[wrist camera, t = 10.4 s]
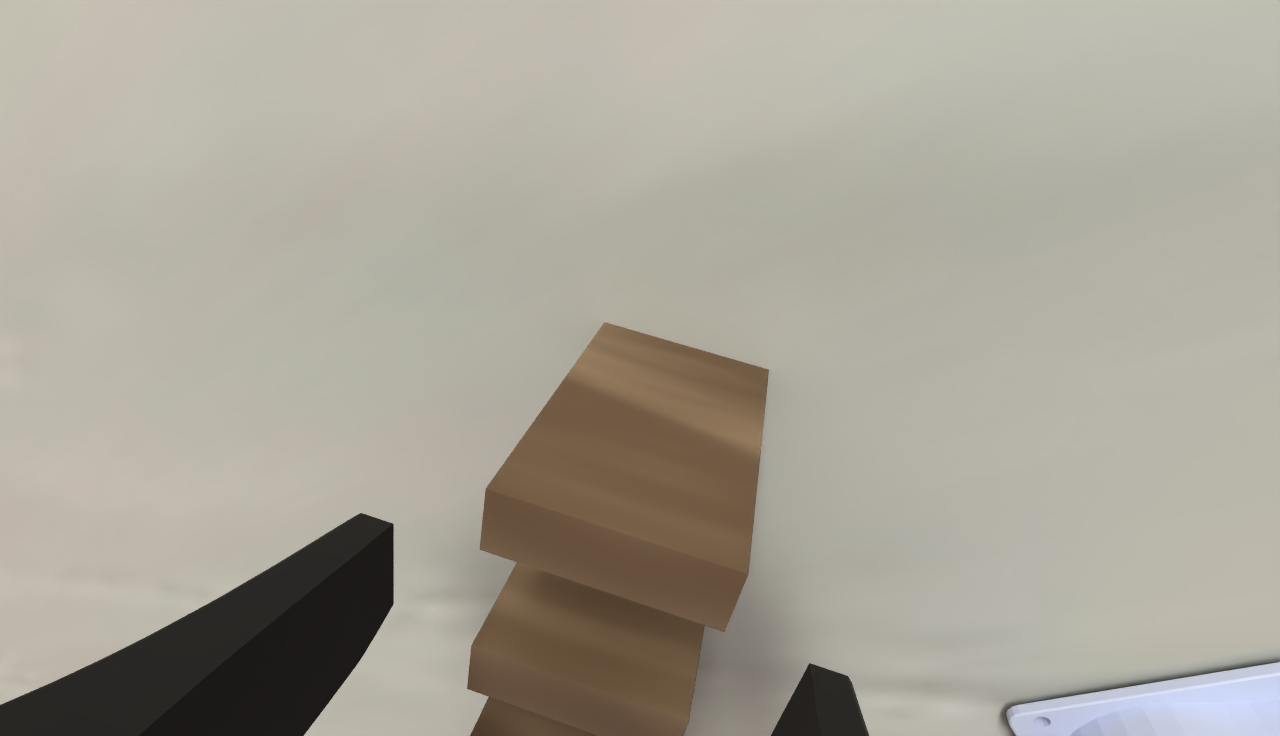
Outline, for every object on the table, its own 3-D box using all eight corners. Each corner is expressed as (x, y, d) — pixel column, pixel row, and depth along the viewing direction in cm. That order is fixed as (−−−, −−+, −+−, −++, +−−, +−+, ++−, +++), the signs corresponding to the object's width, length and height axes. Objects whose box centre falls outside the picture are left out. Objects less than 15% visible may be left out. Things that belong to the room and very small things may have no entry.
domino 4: (581, 445, 21) (471, 645, 14) (726, 489, 20) (688, 721, 13) (574, 481, 21) (467, 688, 14) (714, 525, 21) (671, 761, 14)
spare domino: (752, 414, 19) (724, 631, 12) (596, 368, 19) (479, 549, 12) (768, 369, 18) (748, 574, 11) (604, 322, 18) (485, 488, 11)
